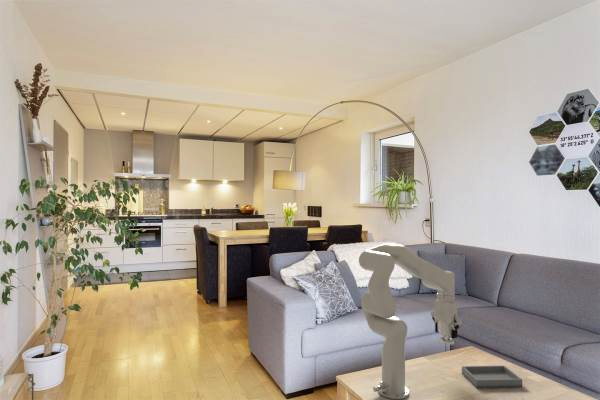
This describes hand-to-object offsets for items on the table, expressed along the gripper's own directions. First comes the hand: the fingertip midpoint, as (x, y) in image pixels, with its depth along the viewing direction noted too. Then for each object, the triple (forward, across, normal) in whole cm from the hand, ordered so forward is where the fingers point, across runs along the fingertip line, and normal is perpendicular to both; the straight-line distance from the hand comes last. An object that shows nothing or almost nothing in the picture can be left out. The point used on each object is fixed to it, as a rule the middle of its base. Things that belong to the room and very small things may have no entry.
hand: (445, 334), depth 180 cm
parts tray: (+18, +15, +11) cm, 26 cm away
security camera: (+3, 0, 0) cm, 3 cm away
